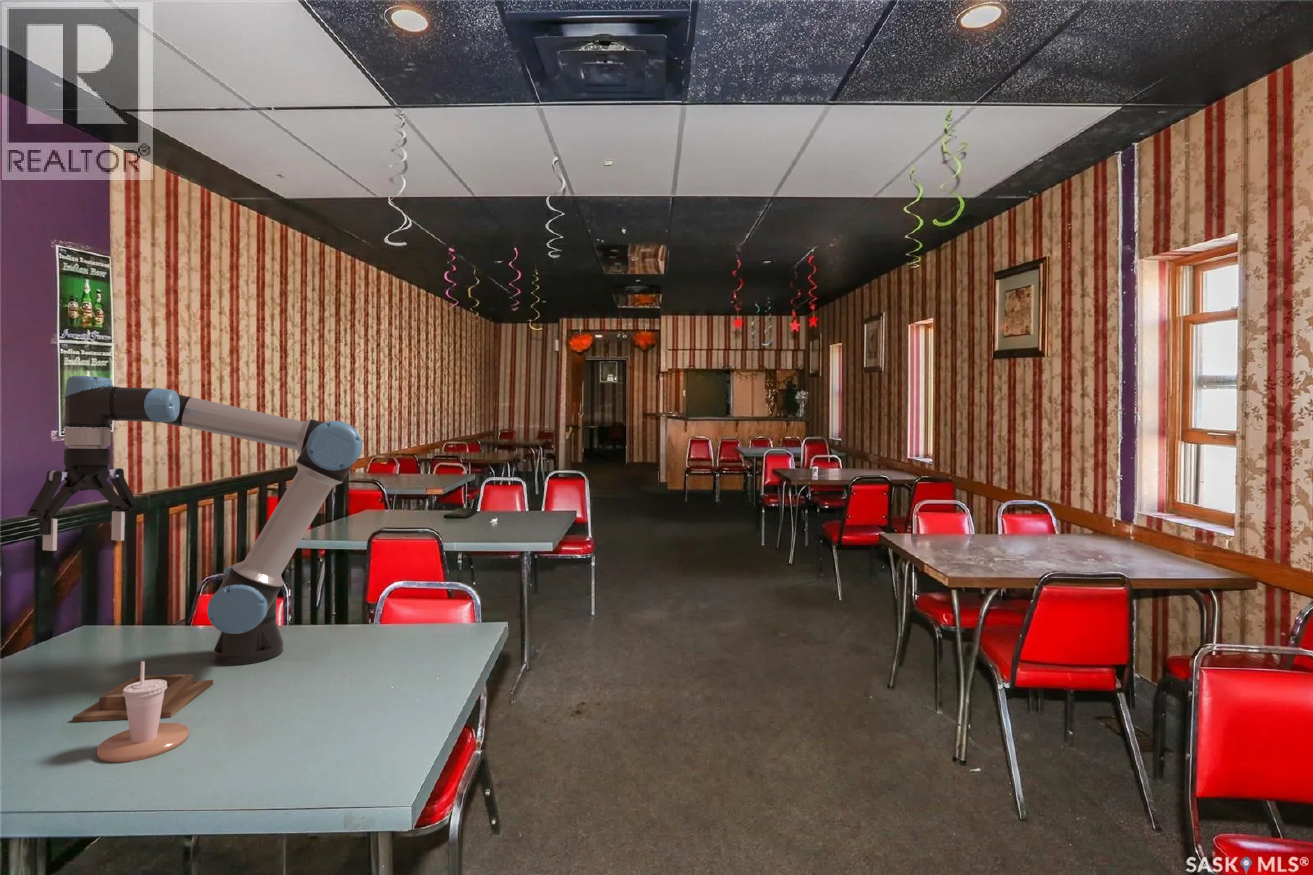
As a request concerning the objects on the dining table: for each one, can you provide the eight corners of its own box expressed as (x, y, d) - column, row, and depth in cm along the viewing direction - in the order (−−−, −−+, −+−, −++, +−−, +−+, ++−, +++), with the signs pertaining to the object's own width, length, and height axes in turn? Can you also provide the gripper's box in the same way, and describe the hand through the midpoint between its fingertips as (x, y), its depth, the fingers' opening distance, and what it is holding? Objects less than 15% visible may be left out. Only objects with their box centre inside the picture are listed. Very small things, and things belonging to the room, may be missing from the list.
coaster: (202, 726, 124) (202, 721, 124) (163, 759, 111) (164, 753, 111) (126, 730, 122) (126, 724, 122) (78, 764, 109) (78, 759, 109)
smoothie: (138, 730, 120) (139, 655, 120) (174, 730, 120) (176, 655, 120) (111, 747, 113) (113, 668, 113) (150, 746, 114) (152, 668, 114)
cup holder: (213, 684, 144) (213, 668, 144) (170, 717, 128) (171, 699, 128) (127, 688, 141) (128, 672, 141) (72, 722, 125) (73, 704, 125)
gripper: (132, 446, 152) (129, 535, 152) (5, 447, 128) (2, 553, 128) (157, 447, 151) (155, 537, 151) (33, 448, 126) (31, 556, 126)
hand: (85, 545), depth 139 cm, fingers open, 13 cm apart
